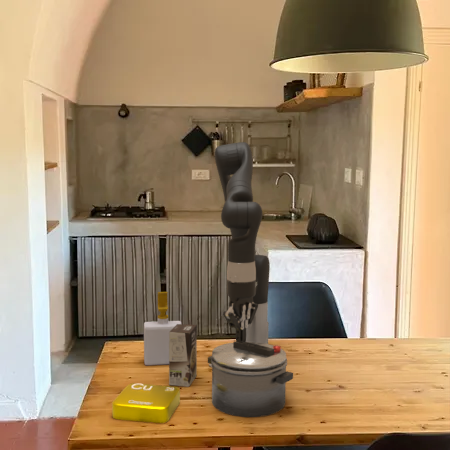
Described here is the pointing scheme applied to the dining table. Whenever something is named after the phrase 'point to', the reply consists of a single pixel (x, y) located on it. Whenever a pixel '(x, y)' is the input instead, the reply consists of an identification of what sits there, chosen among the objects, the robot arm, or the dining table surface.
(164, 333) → the soap bottle
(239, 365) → the cooker lid
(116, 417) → the element tile
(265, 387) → the cooker pot
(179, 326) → the coffee box
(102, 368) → the dining table surface
